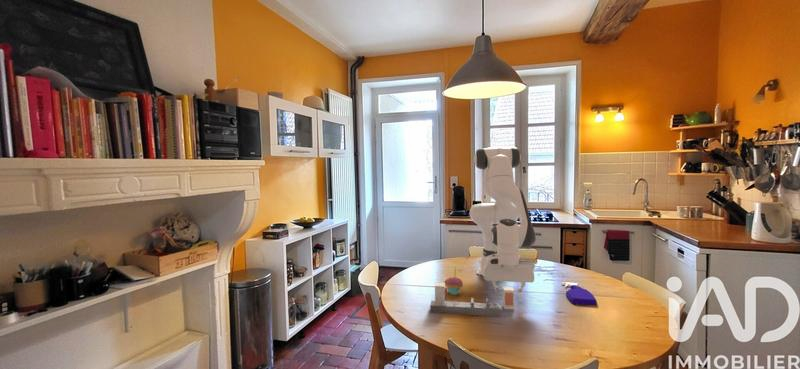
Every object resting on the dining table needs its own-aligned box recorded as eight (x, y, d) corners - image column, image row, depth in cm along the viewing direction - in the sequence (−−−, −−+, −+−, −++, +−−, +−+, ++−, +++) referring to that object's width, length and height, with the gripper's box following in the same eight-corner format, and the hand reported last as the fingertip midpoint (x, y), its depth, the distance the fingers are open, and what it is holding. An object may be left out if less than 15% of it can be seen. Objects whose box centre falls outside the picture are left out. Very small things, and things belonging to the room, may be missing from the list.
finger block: (504, 309, 140) (504, 290, 139) (502, 304, 145) (502, 286, 144) (514, 310, 139) (514, 291, 139) (512, 305, 144) (512, 287, 143)
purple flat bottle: (599, 300, 141) (582, 281, 165) (570, 298, 143) (558, 279, 167) (599, 307, 141) (582, 287, 165) (570, 305, 144) (558, 285, 167)
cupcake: (449, 288, 165) (448, 264, 164) (465, 291, 161) (465, 266, 160) (442, 294, 158) (441, 269, 157) (459, 297, 153) (458, 271, 153)
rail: (431, 307, 144) (431, 282, 143) (499, 311, 139) (499, 284, 138) (430, 312, 139) (429, 286, 138) (501, 316, 134) (500, 289, 133)
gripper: (533, 257, 142) (533, 290, 142) (483, 256, 146) (483, 287, 146) (536, 261, 136) (536, 295, 136) (483, 260, 140) (484, 293, 140)
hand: (508, 291), depth 141 cm, fingers open, 8 cm apart
